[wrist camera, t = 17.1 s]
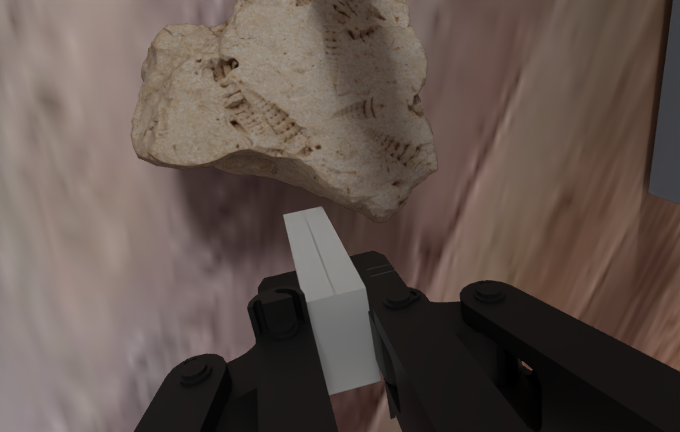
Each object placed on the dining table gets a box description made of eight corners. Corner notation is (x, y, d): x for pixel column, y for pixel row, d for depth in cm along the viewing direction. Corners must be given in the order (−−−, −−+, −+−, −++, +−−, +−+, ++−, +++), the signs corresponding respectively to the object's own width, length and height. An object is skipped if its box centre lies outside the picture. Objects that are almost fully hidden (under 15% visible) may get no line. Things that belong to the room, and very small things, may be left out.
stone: (388, 231, 20) (428, 235, 15) (123, 160, 18) (70, 138, 13) (437, 41, 20) (491, -16, 15) (183, -47, 18) (152, -142, 14)
